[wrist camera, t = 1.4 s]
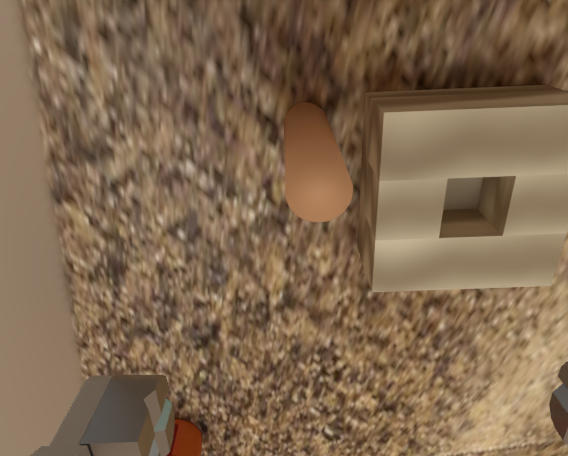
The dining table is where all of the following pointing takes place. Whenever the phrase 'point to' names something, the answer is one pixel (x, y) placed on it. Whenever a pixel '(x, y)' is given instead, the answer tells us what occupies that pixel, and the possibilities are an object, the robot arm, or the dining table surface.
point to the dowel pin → (314, 166)
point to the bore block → (463, 187)
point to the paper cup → (185, 439)
